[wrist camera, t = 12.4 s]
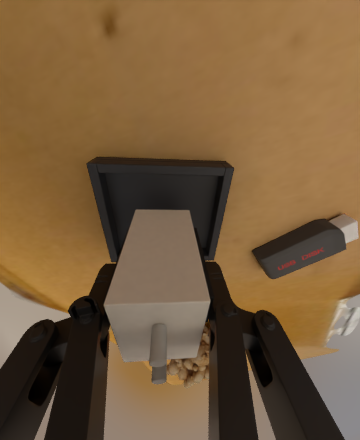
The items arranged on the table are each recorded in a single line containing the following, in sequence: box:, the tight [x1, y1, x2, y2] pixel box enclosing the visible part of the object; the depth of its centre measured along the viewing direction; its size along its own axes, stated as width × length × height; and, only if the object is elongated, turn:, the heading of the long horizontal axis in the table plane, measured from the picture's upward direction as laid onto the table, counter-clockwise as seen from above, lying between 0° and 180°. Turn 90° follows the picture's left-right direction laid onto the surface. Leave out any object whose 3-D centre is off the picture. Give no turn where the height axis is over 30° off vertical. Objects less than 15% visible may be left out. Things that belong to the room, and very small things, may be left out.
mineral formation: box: [166, 326, 209, 388], centre depth 35 cm, size 8×13×15 cm
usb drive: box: [252, 214, 358, 279], centre depth 22 cm, size 5×12×3 cm, turn 124°
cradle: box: [87, 157, 234, 262], centre depth 18 cm, size 13×12×2 cm
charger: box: [104, 210, 210, 384], centre depth 11 cm, size 4×6×9 cm
